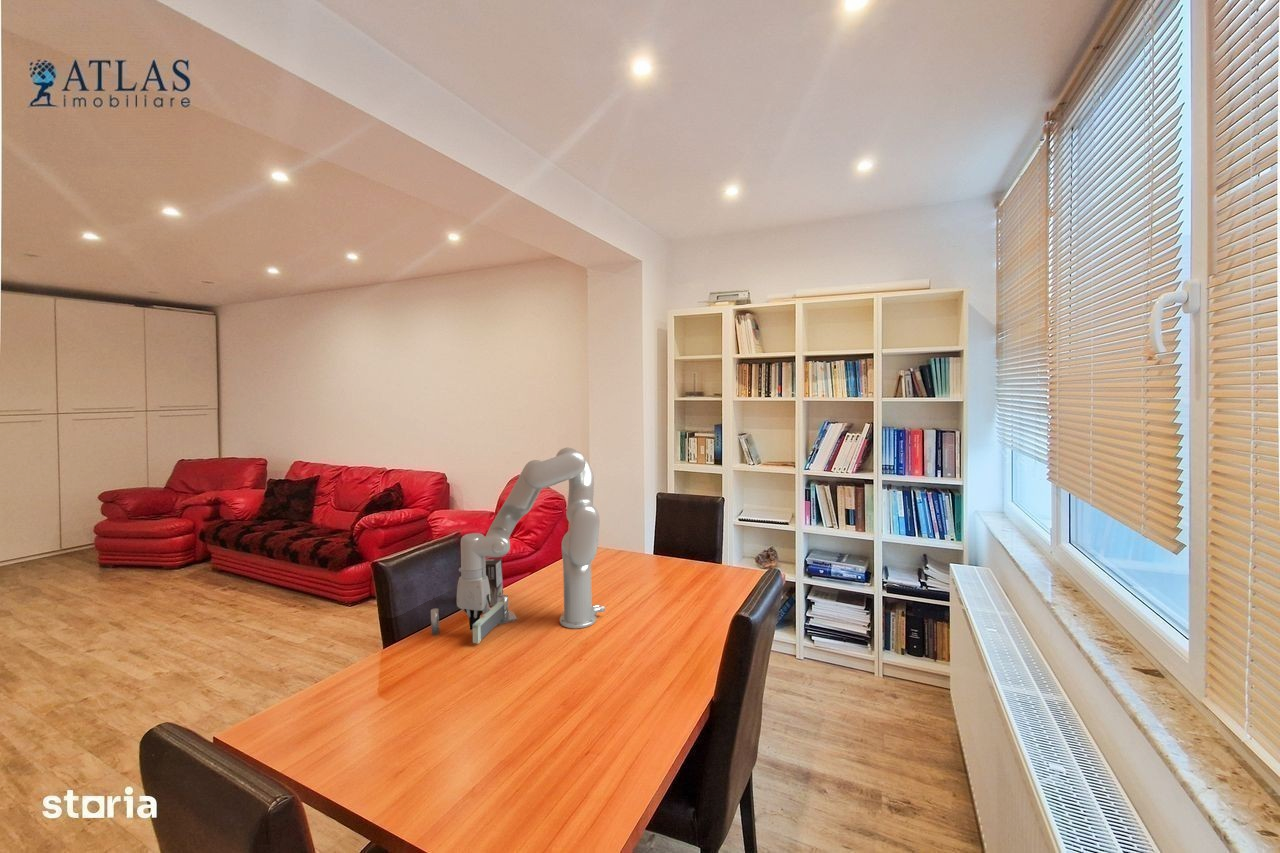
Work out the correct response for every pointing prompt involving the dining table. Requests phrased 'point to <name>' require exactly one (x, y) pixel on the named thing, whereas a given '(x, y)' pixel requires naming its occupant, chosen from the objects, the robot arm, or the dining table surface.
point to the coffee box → (494, 579)
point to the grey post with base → (506, 611)
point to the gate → (487, 622)
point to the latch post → (435, 621)
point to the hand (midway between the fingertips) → (474, 628)
